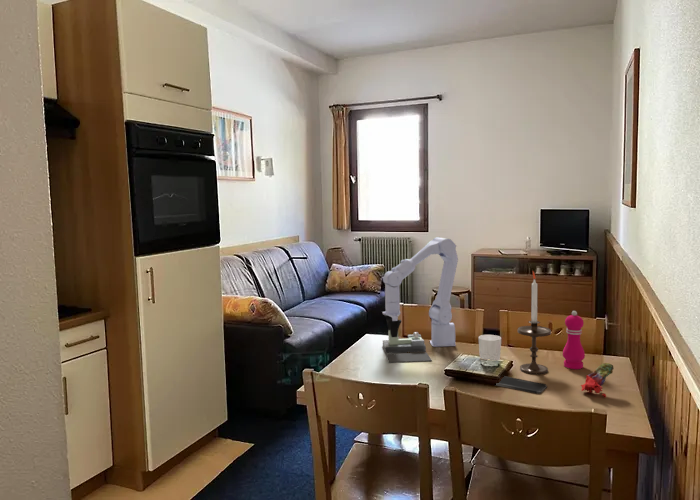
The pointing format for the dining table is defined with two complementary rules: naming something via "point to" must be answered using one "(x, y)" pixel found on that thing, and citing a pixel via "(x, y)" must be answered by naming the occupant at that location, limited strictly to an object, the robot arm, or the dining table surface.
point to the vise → (406, 345)
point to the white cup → (490, 347)
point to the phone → (522, 385)
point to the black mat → (408, 357)
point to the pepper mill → (573, 342)
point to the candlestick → (534, 335)
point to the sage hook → (399, 341)
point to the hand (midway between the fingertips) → (392, 334)
